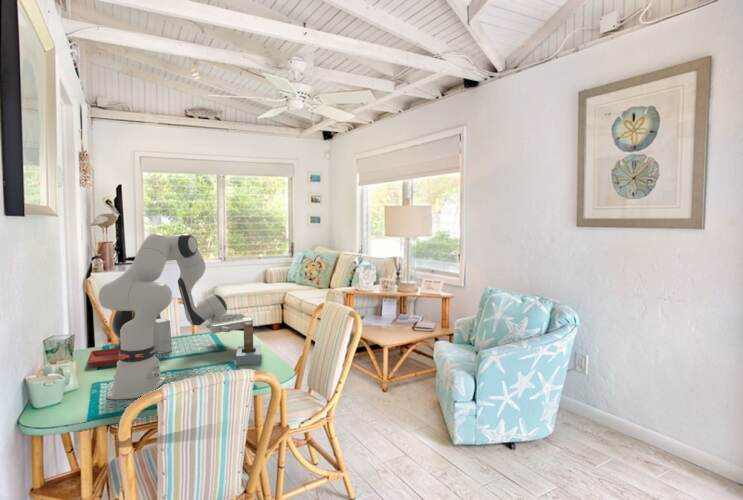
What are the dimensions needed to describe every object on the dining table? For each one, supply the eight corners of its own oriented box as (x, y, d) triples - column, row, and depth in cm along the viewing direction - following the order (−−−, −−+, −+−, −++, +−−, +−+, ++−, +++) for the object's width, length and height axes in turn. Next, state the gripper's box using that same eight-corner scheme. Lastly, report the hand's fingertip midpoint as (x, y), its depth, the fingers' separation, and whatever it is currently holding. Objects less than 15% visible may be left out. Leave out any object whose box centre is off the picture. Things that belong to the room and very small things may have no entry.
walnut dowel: (253, 360, 201) (252, 324, 199) (243, 361, 200) (243, 325, 198) (253, 357, 204) (253, 322, 203) (244, 358, 203) (243, 323, 202)
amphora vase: (141, 352, 211) (140, 292, 209) (102, 348, 215) (99, 290, 213) (171, 339, 232) (169, 285, 230) (134, 336, 236) (132, 283, 234)
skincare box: (172, 351, 212) (171, 320, 211) (158, 354, 208) (157, 322, 207) (165, 347, 218) (165, 317, 217) (152, 350, 214) (151, 319, 213)
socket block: (260, 363, 196) (260, 354, 196) (236, 365, 194) (236, 356, 194) (260, 353, 210) (260, 345, 210) (238, 355, 208) (237, 346, 207)
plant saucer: (91, 357, 203) (91, 350, 203) (136, 352, 211) (136, 345, 211) (86, 370, 187) (86, 362, 187) (136, 364, 195) (135, 356, 195)
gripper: (204, 319, 213) (216, 325, 203) (245, 313, 226) (258, 318, 216) (205, 332, 214) (216, 339, 203) (245, 325, 227) (258, 331, 216)
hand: (238, 328), depth 210 cm, fingers open, 8 cm apart
